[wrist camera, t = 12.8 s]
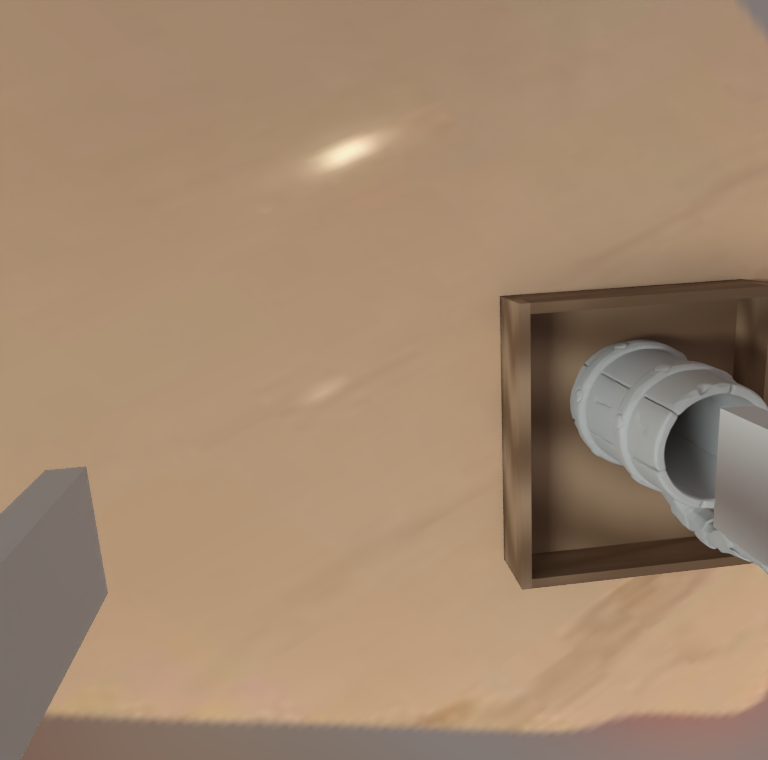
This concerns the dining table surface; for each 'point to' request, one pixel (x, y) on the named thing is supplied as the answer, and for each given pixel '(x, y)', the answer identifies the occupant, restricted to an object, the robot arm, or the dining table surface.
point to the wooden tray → (570, 453)
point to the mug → (661, 425)
